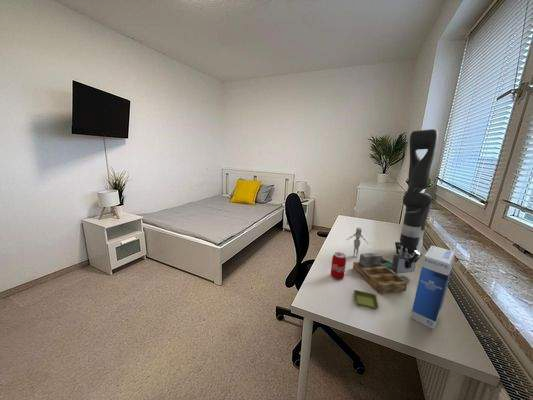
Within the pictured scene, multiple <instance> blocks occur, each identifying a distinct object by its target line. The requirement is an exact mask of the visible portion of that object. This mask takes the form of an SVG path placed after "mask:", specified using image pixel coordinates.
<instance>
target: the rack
mask: <svg viewBox="0 0 533 400" xmlns="http://www.w3.org/2000/svg"><path fill="white" fill-rule="evenodd" d="M382 258H383V255H382V254H380V253H379V252H368V253H360V255H359V260H358V261H353V264H352V270H353V271H354V272H355V273H356V274H357V275H358V276H360V278H361V279H362V280H363V281H365V282H366V283H367V285H369V287H371V288H372V289H373V290H374V291H375V292H376V293H377V294H386V293H387V294H388V293H396V292H397V293H398V292H406V291H407V286H408V282H407V281H406V280H405V279H403V278H402V277H400V276H399V274H396V273H394V272H393V271H392V270H391V269H388V268H387V267H386V266H384V265H383V264H382V263H381V261H382Z"/></svg>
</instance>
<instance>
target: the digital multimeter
mask: <svg viewBox="0 0 533 400" xmlns="http://www.w3.org/2000/svg"><path fill="white" fill-rule="evenodd" d="M381 263H382V264H383V265H384V266H386V267H387V268H388V269H390V270H391V267H392V262H391V261H389V260H387V259H385V258H383V257H382V261H381Z"/></svg>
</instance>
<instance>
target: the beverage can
mask: <svg viewBox="0 0 533 400" xmlns="http://www.w3.org/2000/svg"><path fill="white" fill-rule="evenodd" d="M346 264H347V256H346V255H345V253H342V252H334V253H333V255H332V261H331V269H330V276H331V277H332V278H333V279H334V280H336V281H337V280H339V281H340V280H343V279H344V278H345V272H346Z"/></svg>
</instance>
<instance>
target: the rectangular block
mask: <svg viewBox="0 0 533 400" xmlns="http://www.w3.org/2000/svg"><path fill="white" fill-rule="evenodd" d="M406 262H407V257H406V255H398V254H397V255H396V254H395V255H393V257H392V262H391V263H392V267H391V269H390V270H391V271H392V272H394V273H395V274H396V275H400V274H409V273H410V274H411V273H414V272H415V270H416V264H417V262H415V263H412V265H411V268H409V269H406V268H405V267H406Z"/></svg>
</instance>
